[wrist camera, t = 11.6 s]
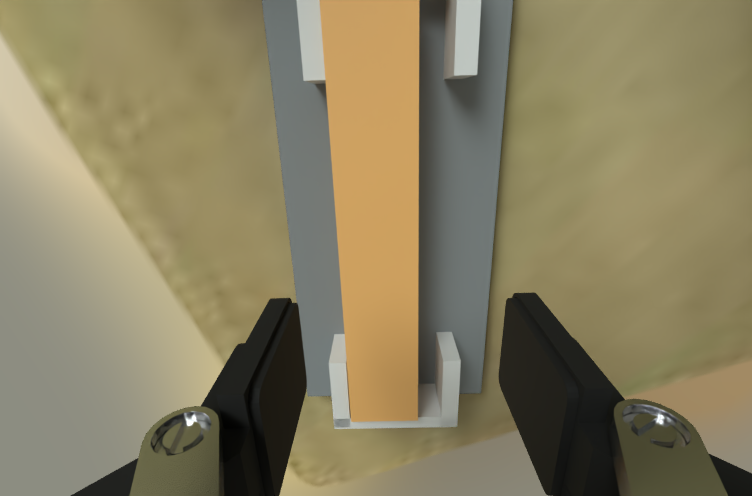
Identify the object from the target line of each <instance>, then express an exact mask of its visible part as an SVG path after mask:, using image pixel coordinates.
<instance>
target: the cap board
mask: <svg viewBox="0 0 752 496" xmlns="http://www.w3.org/2000/svg"><path fill="white" fill-rule="evenodd" d="M262 5H263V14H264V22H265V31H266V39H267V48H268V57H269V65H270V74H271V83H272V91H273V100H274V108H275V117H276V126H277V134H278V143H279V152H280V160H281V169H282V177H283V186H284V195H285V203H286V212H287V221H288V229H289V238H290V246H291V255H292V264H293V272H294V281H295V290H296V298H297V304H298V307H299V315H300V324H301V332H302V341H303V350H304V359H305V367H306V376H307V393H308V396H332V406H333V418H334V429H353V428H417V427H457V420H458V402H459V394H470V393H481V386H482V374H483V362H484V349H485V337H486V325H487V313H488V300H489V288H490V276H491V264H492V251H493V239H494V227H495V215H496V203H497V190H498V178H499V166H500V154H501V141H502V129H503V117H504V105H505V92H506V80H507V68H508V56H509V44H510V31H511V19H512V7H513V0H419V258H418V421H372V422H351V413H350V400H349V386H348V373H347V360H346V346H345V333H344V320H343V307H342V293H341V280H340V267H339V254H338V240H337V227H336V214H335V201H334V187H333V174H332V161H331V147H330V134H329V121H328V108H327V94H326V81H325V68H324V55H323V41H322V28H321V15H320V1H319V0H262Z"/></svg>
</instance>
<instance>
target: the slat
mask: <svg viewBox="0 0 752 496" xmlns="http://www.w3.org/2000/svg"><path fill="white" fill-rule="evenodd" d="M319 1H320V15H321V28H322V41H323V55H324V68H325V81H326V94H327V108H328V121H329V134H330V147H331V161H332V174H333V187H334V201H335V214H336V227H337V240H338V254H339V267H340V280H341V293H342V307H343V320H344V333H345V346H346V360H347V373H348V386H349V400H350V413H351V422H372V421H418V258H419V0H319Z"/></svg>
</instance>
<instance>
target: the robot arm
mask: <svg viewBox="0 0 752 496" xmlns="http://www.w3.org/2000/svg"><path fill="white" fill-rule="evenodd" d="M499 383H500V387H501V390H502V392H503V395H504V397H505V399H506V402H507V404H508V406H509V409H510V411H511V414H512V416H513V418H514V421H515V423H516V425H517V428H518V430H519V432H520V435H521V437H522V440H523V442H524V444H525V447H526V449H527V451H528V454H529V456H530V459H531V461H532V463H533V466H534V468H535V470H536V473H537V475H538V477H539V480H540V482H541V484H542V487H543V489H544V491H545V493H546V494H547V495H550V496H752V474H751V473H749V472H747V471H745V470H743V469H741V468H738V467H737V466H734V465H732V464H730V463H728V462H726V461H724V460H721V459H719V458H717V457H715V456H712V455H711V454H708V452H707V450H706V448H705V446H704V443H703V441H702V439H701V437H700V435H699V434H698V432H697V430H696V429H695V428H694V426H693V425H692V424H691V423H690V422H689V421H687V420H686V419H685V418H684V417H683V416H681V415H680V414H678V413H677V412H675V411H673V410H672V409H670V408H667V407H665V406H663V405H661V404H658V403H655V402H651V401H647V400H640V399H628V400H625V399H624V398H623V397H622V396H621V394H620V393H619V392H618V391H617V389H616V388H615V387H614V386H613V385H612V383H611V382H610V381H609V380H608V378H607V377H606V376H605V375H604V374H603V372H602V371H601V370H600V369H599V368H598V366H597V365H596V364H595V363H594V361H593V360H592V359H591V358H590V357H589V355H588V354H587V353H586V352H585V351H584V349H583V348H582V347H581V346H580V344H579V343H578V342H577V341H576V340H575V339H574V338H572V337H571V336H570V334H569V333H568V332H567V331H566V329H565V328H564V327H563V326H562V325H561V323H560V322H559V321H558V320H557V318H556V317H555V316H554V315H553V313H552V312H551V311H550V310H549V309H548V307H547V306H546V305H545V304H544V302H543V301H542V300H541V299H540V298H539V296H538V295H537V294H536V293H514V294H513V297H512V298H508V299H507V301H506V307H505V317H504V327H503V337H502V347H501V357H500V367H499ZM306 387H307V376H306V367H305V359H304V350H303V341H302V332H301V324H300V315H299V307H298V304H297V303H292V301H291V299H290V298H276V299H270V300H269V302H268V303H267V305H266V307H265V309H264V311H263V312H262V314H261V316H260V318H259V320H258V321H257V323H256V325H255V327H254V329H253V330H252V332H251V334H250V336H249V337H248V339H247V341H246V343H241V344H238V345H237V346H236V348H235V349H234V351H233V353H232V354H231V356H230V358H229V359H228V361H227V363H226V364H225V366H224V368H223V370H222V371H221V373H220V375H219V376H218V378H217V380H216V382H215V383H214V385H213V387H212V388H211V390H210V392H209V393H208V395H207V397H206V398H205V400H204V402H203V403H202V405H201V407H199V406H194V407H188V408H184V409H180V410H177V411H175V412H173V413H171V414H169V415H167V416H165V417H164V418H162V419H161V420H159V421H158V422H157V423H156V424H155V425H153V426H152V427H151V429H150V430H149V431H148V432H147V433H146V435H145V437H144V440H143V442H142V445H141V449H140V453H139V458H138V459H136V460H134V461H132V462H130V463H129V464H127V465H125V466H123V467H121V468H119V469H118V470H116V471H114V472H112V473H110V474H109V475H107V476H105V477H103V478H101V479H100V480H98V481H97V482H95V483H93V484H91V485H89V486H87V487H85V488H84V489H82V490H80V491H78V492H76V493H75V494H73V495H71V496H279V494H280V490H281V487H282V483H283V479H284V475H285V471H286V467H287V463H288V459H289V455H290V451H291V448H292V444H293V440H294V436H295V432H296V428H297V424H298V420H299V416H300V412H301V409H302V405H303V401H304V397H305V393H306Z"/></svg>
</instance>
